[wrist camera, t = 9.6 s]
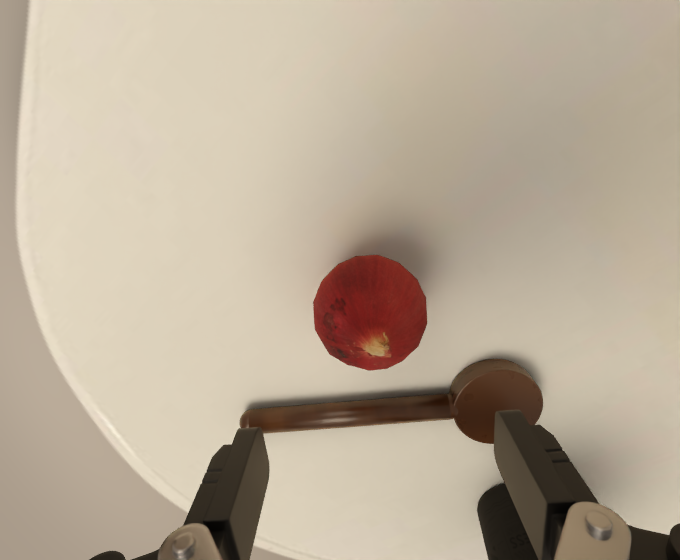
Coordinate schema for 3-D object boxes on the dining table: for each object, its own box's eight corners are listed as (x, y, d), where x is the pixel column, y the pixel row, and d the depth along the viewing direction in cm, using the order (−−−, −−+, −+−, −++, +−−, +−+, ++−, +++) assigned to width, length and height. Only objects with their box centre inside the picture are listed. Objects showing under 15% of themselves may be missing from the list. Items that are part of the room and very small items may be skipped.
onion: (345, 343, 25) (343, 429, 18) (301, 267, 24) (278, 326, 16) (430, 305, 24) (465, 379, 17) (389, 222, 23) (408, 264, 15)
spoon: (235, 380, 27) (228, 394, 25) (535, 354, 25) (547, 368, 24) (251, 447, 28) (245, 464, 27) (531, 426, 27) (542, 443, 26)
